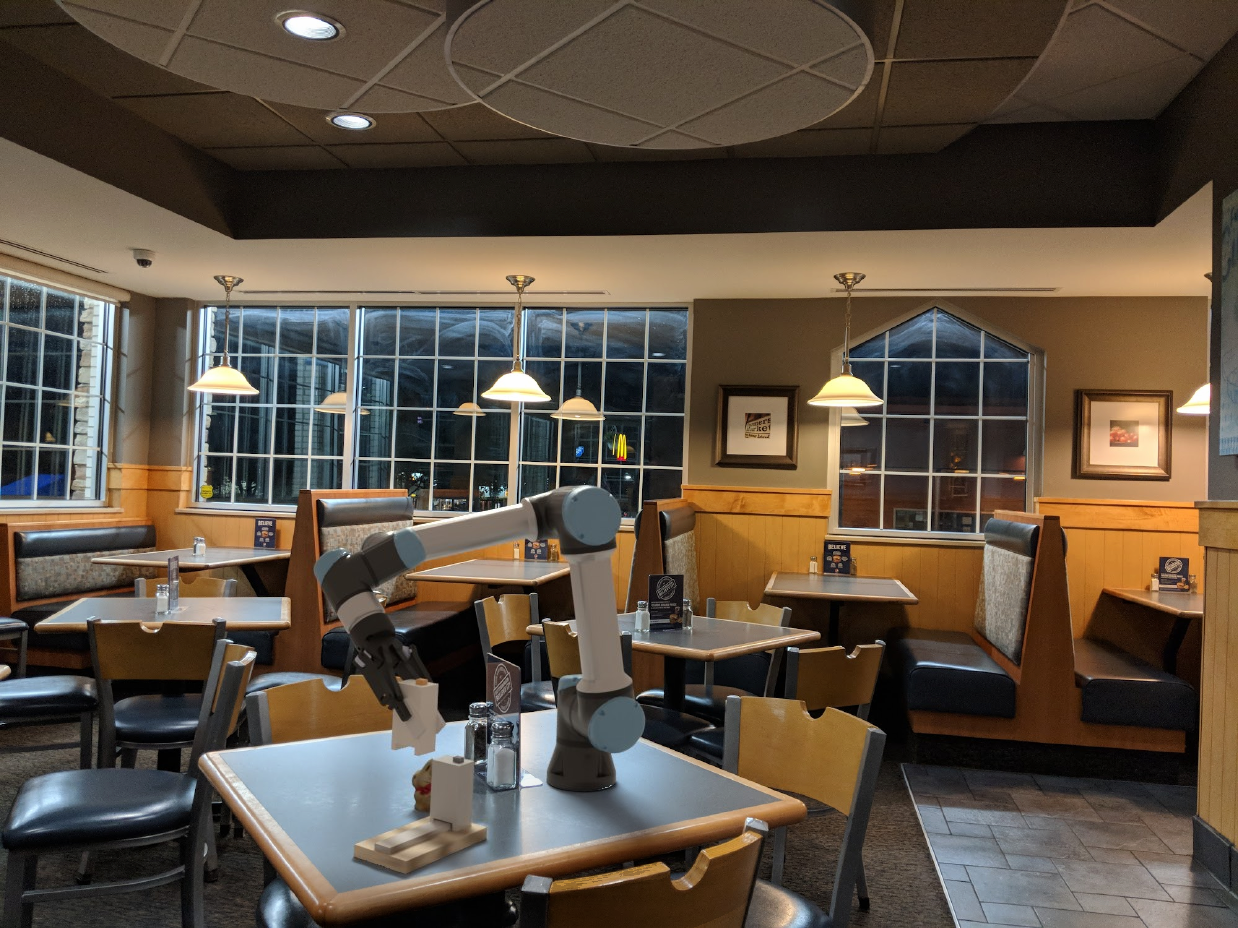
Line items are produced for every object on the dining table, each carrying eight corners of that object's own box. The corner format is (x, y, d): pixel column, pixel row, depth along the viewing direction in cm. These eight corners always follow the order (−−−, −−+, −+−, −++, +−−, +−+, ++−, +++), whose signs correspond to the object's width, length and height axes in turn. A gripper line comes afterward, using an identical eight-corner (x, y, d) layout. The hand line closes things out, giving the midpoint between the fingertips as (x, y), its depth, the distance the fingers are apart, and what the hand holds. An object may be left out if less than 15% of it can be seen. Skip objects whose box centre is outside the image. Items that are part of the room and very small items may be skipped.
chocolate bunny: (432, 800, 186) (435, 750, 186) (453, 811, 180) (456, 759, 180) (408, 805, 182) (410, 754, 183) (428, 817, 176) (431, 763, 177)
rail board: (436, 823, 173) (437, 807, 173) (486, 838, 166) (487, 821, 166) (353, 856, 156) (354, 837, 156) (405, 873, 149) (406, 854, 150)
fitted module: (429, 823, 167) (432, 754, 168) (444, 817, 170) (447, 750, 171) (456, 831, 164) (459, 761, 164) (471, 825, 167) (474, 756, 168)
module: (391, 749, 159) (394, 677, 160) (408, 744, 163) (411, 674, 163) (418, 755, 156) (422, 682, 156) (435, 751, 159) (438, 679, 160)
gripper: (391, 632, 175) (452, 735, 166) (318, 641, 161) (381, 755, 151) (413, 606, 173) (476, 710, 163) (340, 614, 158) (406, 727, 149)
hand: (430, 731), depth 157 cm, fingers closed on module, 4 cm apart
